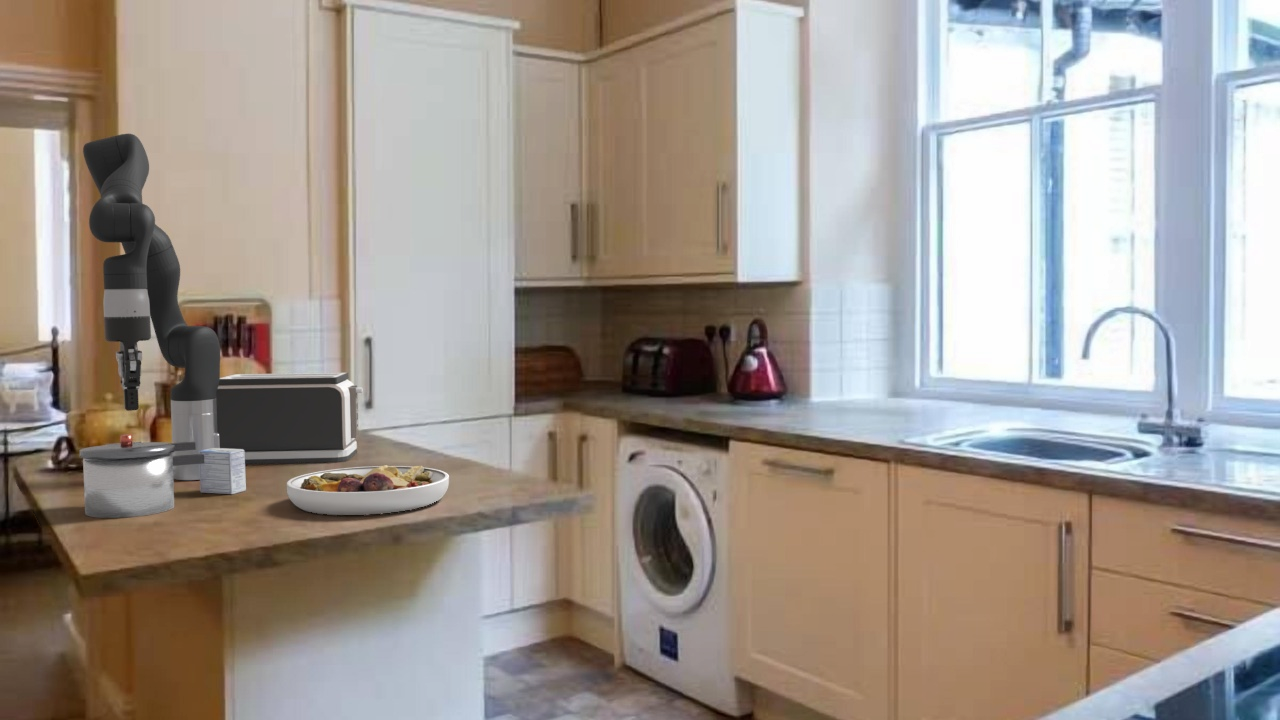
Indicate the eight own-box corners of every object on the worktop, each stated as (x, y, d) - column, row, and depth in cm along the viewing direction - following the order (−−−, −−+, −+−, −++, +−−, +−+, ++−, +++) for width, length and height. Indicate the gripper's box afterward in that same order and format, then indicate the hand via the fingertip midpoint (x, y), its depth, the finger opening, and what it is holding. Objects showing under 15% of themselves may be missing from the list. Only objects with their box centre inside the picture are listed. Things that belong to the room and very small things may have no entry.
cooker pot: (197, 494, 214) (195, 445, 213) (211, 508, 199) (209, 455, 199) (82, 505, 203) (80, 453, 203) (87, 521, 189) (85, 465, 188)
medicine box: (246, 491, 218) (245, 449, 217) (231, 495, 213) (230, 452, 213) (215, 489, 220) (213, 447, 220) (199, 493, 216) (198, 450, 215)
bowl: (280, 497, 212) (279, 457, 212) (430, 485, 224) (429, 448, 224) (296, 526, 185) (294, 481, 184) (466, 511, 197) (465, 469, 196)
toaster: (357, 462, 255) (355, 377, 254) (207, 466, 251) (204, 379, 250) (369, 451, 274) (367, 371, 273) (230, 454, 271) (227, 373, 269)
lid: (188, 445, 212) (187, 428, 212) (201, 453, 197) (200, 435, 197) (77, 453, 202) (76, 435, 202) (82, 462, 187) (81, 443, 187)
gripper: (154, 314, 189) (159, 411, 190) (145, 313, 200) (149, 405, 202) (107, 315, 185) (112, 415, 186) (100, 314, 197) (105, 408, 198)
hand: (131, 409), depth 194 cm, fingers closed
